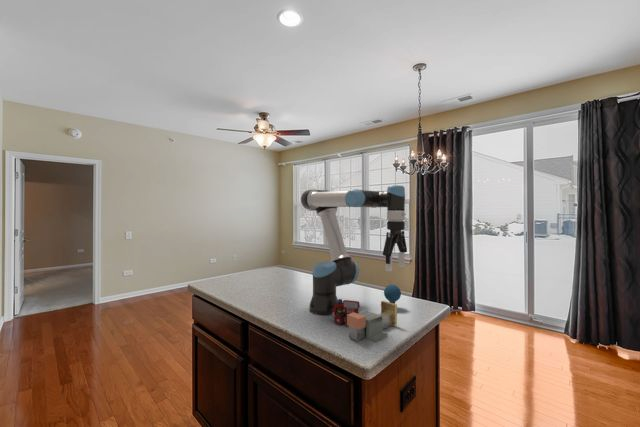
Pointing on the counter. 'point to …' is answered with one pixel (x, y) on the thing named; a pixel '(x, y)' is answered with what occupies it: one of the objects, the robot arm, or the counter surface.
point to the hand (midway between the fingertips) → (395, 268)
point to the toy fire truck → (344, 310)
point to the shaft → (387, 320)
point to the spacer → (356, 320)
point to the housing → (373, 326)
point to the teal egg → (392, 293)
